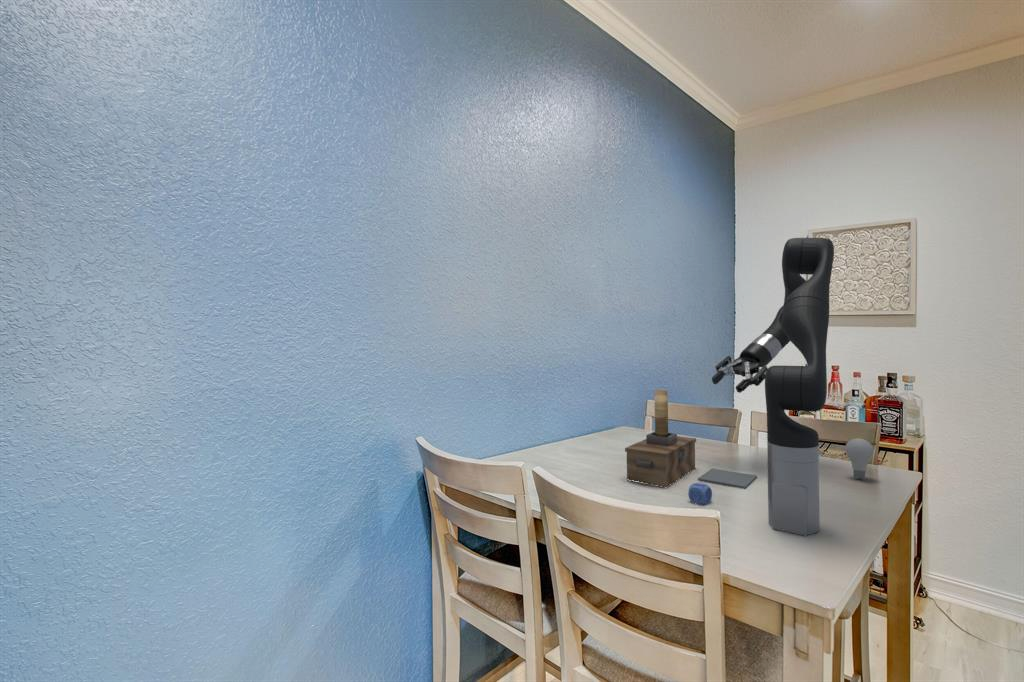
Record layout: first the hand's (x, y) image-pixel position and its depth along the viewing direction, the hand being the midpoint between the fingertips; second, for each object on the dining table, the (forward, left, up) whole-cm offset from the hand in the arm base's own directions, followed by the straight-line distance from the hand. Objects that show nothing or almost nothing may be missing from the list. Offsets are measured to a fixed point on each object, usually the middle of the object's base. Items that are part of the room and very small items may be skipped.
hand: (725, 386), depth 140 cm
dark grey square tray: (-14, +13, -16) cm, 25 cm away
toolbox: (-14, +13, -25) cm, 31 cm away
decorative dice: (-30, -3, -25) cm, 39 cm away
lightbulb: (+12, -31, -25) cm, 41 cm away
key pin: (-14, +13, -16) cm, 25 cm away
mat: (-8, -3, -25) cm, 26 cm away
